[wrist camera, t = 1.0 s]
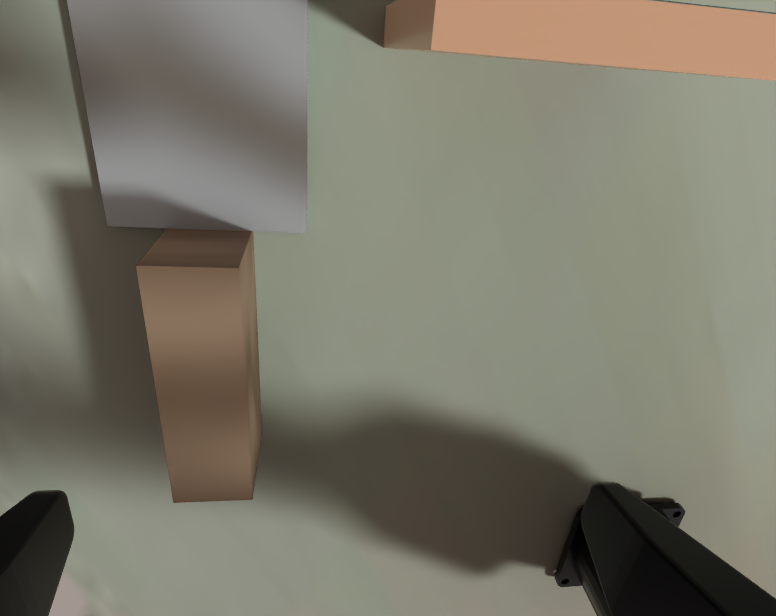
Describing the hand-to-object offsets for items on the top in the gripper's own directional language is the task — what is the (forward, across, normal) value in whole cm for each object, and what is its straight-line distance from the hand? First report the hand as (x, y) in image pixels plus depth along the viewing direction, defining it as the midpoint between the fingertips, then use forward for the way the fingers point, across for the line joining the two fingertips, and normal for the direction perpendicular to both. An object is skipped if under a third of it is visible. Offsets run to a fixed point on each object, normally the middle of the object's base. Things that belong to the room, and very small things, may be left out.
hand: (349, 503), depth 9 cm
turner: (+13, +4, +1) cm, 13 cm away
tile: (+9, -5, -8) cm, 13 cm away
